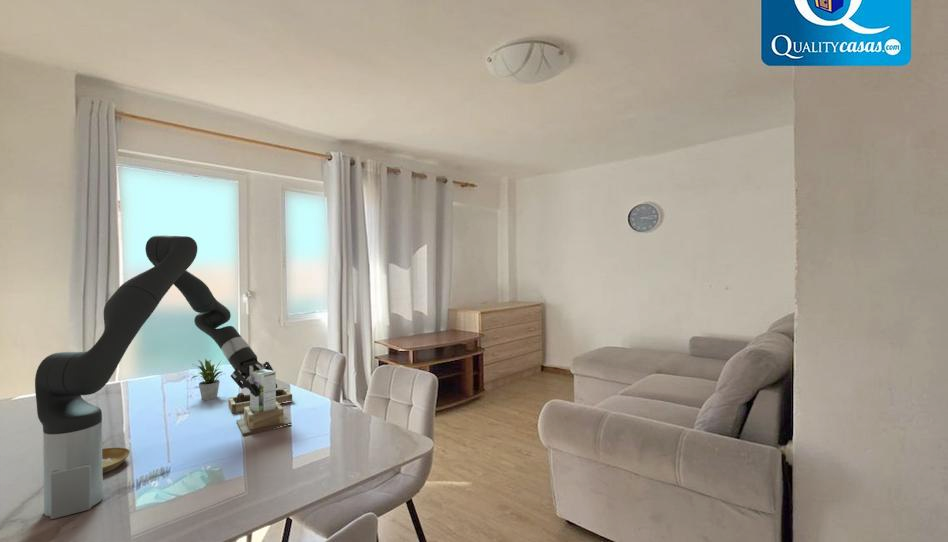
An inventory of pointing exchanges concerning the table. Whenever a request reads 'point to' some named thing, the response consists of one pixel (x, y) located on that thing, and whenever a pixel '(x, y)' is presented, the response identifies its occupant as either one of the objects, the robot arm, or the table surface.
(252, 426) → the socket
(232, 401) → the bolt rack
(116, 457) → the plant saucer
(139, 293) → the robot arm
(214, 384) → the house plant
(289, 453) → the table surface
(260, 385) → the syrup box
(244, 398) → the bolt
